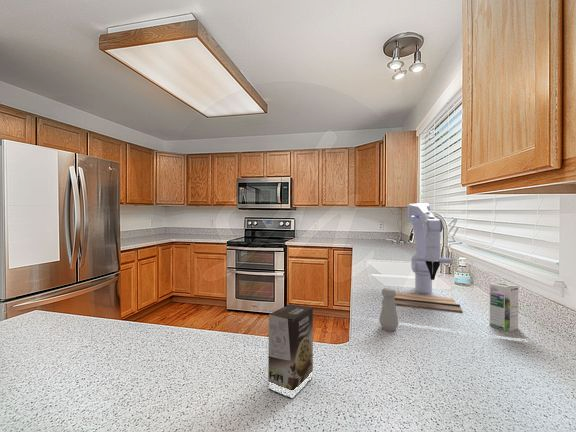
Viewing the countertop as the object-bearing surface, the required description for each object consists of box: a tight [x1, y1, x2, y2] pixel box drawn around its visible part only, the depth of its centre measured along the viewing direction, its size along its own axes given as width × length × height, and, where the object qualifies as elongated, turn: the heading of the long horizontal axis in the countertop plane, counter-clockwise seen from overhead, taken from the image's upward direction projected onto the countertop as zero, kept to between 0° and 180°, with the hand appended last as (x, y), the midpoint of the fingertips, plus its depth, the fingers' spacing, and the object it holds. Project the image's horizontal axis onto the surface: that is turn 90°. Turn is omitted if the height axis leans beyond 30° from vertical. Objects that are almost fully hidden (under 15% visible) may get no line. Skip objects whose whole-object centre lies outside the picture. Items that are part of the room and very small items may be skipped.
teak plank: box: [394, 292, 457, 304], centre depth 123 cm, size 10×26×2 cm, turn 67°
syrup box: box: [488, 282, 519, 332], centre depth 93 cm, size 6×6×14 cm
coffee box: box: [267, 303, 314, 390], centre depth 63 cm, size 9×6×16 cm
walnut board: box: [382, 298, 463, 314], centre depth 114 cm, size 6×28×2 cm, turn 67°
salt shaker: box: [378, 287, 399, 332], centre depth 93 cm, size 6×6×13 cm
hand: (432, 279), depth 122 cm, fingers closed
